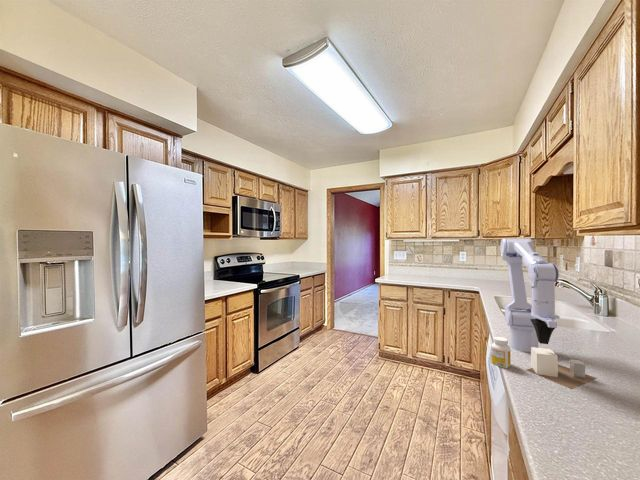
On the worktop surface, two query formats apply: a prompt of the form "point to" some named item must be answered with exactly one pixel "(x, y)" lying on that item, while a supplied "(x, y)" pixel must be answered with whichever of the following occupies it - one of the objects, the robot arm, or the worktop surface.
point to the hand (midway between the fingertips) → (543, 343)
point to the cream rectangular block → (544, 361)
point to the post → (577, 369)
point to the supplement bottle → (500, 352)
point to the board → (565, 377)
